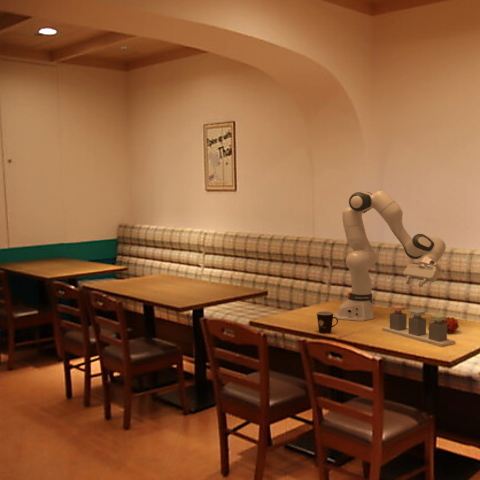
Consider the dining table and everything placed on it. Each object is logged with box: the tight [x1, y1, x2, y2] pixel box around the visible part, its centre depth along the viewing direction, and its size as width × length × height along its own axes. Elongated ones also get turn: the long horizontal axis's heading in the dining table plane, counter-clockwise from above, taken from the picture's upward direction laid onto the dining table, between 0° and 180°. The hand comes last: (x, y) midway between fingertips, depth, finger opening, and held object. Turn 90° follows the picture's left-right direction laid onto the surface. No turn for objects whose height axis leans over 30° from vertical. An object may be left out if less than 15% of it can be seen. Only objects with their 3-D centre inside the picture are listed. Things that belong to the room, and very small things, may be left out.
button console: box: [381, 312, 456, 348], centre depth 310 cm, size 38×10×10 cm, turn 33°
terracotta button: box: [390, 304, 406, 315], centre depth 320 cm, size 5×5×5 cm
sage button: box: [430, 314, 447, 325], centre depth 299 cm, size 5×5×5 cm
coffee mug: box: [316, 310, 339, 334], centre depth 321 cm, size 12×9×10 cm
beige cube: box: [409, 309, 426, 319], centre depth 309 cm, size 5×5×5 cm
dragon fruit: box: [442, 316, 460, 334], centre depth 318 cm, size 8×8×12 cm
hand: (413, 284), depth 325 cm, fingers open, 7 cm apart
